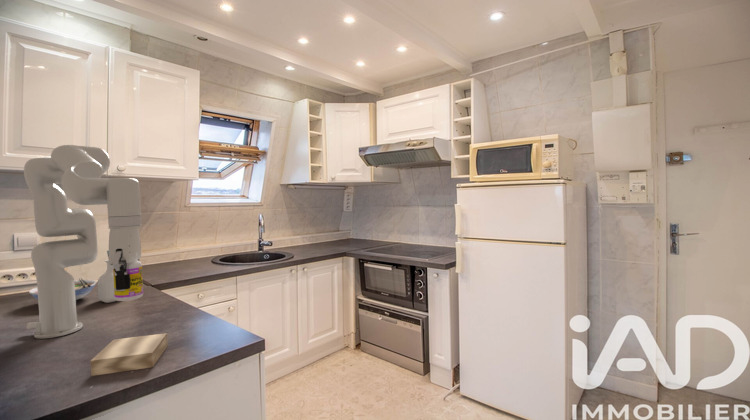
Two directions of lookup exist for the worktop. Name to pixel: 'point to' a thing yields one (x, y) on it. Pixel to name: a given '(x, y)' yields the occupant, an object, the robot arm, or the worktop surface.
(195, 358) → the worktop surface
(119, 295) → the supplement bottle
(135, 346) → the block
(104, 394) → the worktop surface
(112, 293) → the soap bottle
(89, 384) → the worktop surface
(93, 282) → the ramen bowl
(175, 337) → the worktop surface
